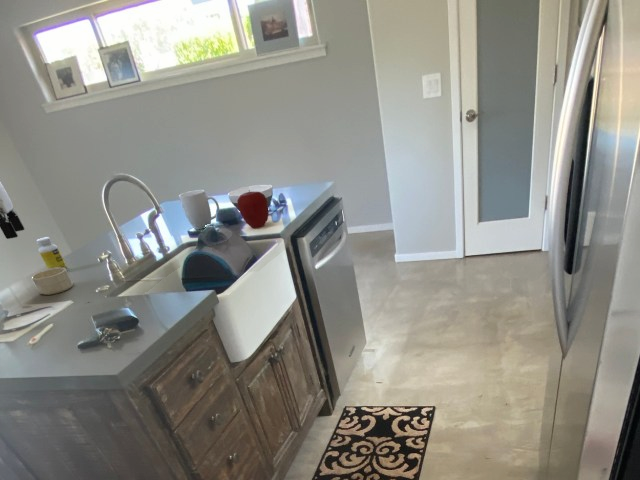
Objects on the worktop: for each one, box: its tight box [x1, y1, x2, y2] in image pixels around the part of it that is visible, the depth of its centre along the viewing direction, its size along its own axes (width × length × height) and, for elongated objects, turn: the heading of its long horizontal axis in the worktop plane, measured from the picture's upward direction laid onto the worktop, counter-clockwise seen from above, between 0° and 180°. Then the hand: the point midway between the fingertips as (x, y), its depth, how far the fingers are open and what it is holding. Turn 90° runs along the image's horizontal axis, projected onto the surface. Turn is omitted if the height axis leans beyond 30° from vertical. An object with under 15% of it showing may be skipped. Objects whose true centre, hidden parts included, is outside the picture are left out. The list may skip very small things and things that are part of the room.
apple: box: [237, 191, 269, 229], centre depth 207 cm, size 12×12×13 cm
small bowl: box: [30, 268, 74, 296], centre depth 177 cm, size 11×11×6 cm
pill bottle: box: [35, 236, 69, 271], centre depth 193 cm, size 6×6×12 cm
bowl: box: [227, 184, 274, 212], centre depth 226 cm, size 20×20×10 cm
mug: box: [178, 189, 220, 230], centre depth 220 cm, size 15×11×13 cm
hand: (16, 234), depth 157 cm, fingers open, 9 cm apart
